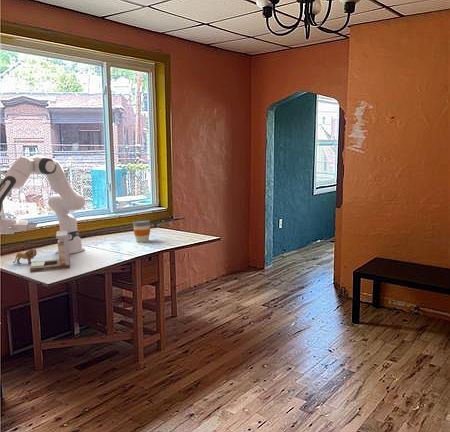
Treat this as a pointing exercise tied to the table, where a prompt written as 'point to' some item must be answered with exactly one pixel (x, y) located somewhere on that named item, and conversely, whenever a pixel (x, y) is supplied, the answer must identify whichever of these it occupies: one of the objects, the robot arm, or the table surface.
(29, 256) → the lion figurine
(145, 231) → the reusable coffee cup
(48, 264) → the walnut board
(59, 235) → the grey tunnel
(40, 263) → the sage pad
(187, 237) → the table surface
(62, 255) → the beech block
